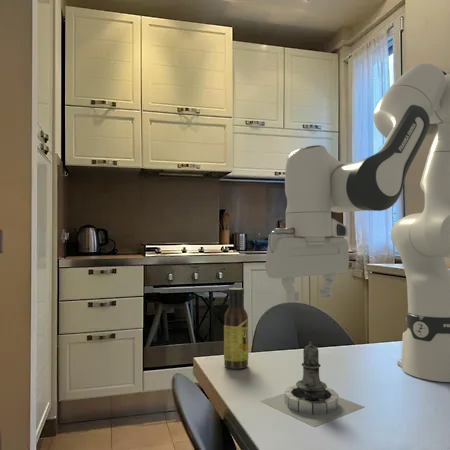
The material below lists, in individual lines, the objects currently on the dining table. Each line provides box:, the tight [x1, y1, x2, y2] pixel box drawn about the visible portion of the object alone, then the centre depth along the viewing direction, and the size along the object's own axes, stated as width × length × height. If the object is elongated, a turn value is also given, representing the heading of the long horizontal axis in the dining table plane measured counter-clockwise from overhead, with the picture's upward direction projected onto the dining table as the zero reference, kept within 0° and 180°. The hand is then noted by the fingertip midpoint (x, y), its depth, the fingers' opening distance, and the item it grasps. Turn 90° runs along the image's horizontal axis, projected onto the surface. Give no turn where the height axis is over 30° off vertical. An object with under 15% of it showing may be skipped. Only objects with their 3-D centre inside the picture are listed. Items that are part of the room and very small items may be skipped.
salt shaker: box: [295, 340, 328, 401], centre depth 79 cm, size 6×6×12 cm
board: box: [260, 392, 365, 428], centre depth 79 cm, size 14×14×1 cm
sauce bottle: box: [223, 287, 249, 370], centre depth 105 cm, size 6×6×20 cm
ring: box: [284, 384, 339, 415], centre depth 79 cm, size 10×10×2 cm
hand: (310, 299), depth 79 cm, fingers open, 8 cm apart
